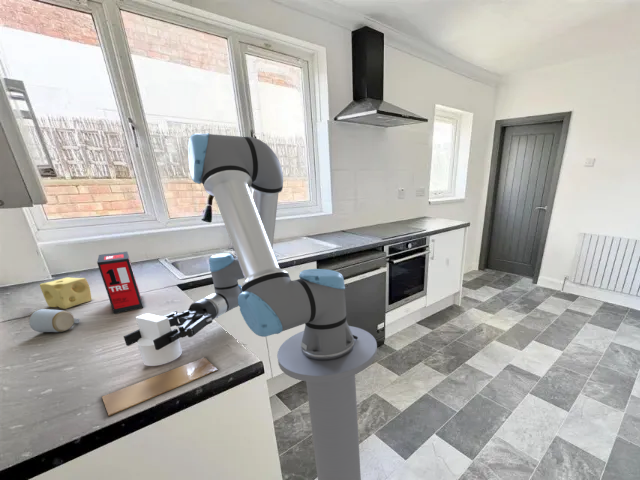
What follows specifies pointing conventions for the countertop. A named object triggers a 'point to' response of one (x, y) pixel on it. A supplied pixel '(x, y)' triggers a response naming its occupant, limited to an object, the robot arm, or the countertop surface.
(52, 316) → the ceramic mug
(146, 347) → the cylinder with rectangular tab
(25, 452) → the countertop surface
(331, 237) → the countertop surface
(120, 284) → the cleaning product box
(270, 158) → the robot arm
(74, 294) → the cheese
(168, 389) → the tan rectangular plate
